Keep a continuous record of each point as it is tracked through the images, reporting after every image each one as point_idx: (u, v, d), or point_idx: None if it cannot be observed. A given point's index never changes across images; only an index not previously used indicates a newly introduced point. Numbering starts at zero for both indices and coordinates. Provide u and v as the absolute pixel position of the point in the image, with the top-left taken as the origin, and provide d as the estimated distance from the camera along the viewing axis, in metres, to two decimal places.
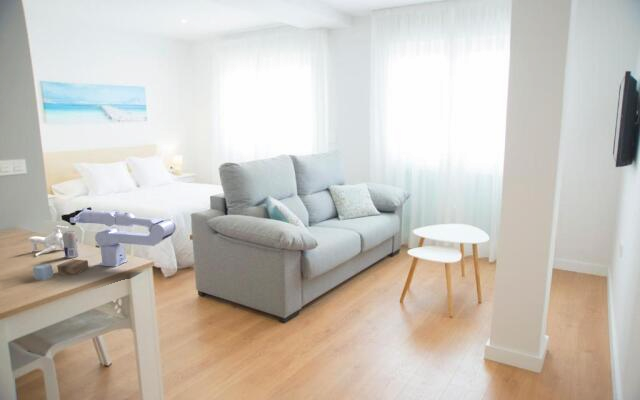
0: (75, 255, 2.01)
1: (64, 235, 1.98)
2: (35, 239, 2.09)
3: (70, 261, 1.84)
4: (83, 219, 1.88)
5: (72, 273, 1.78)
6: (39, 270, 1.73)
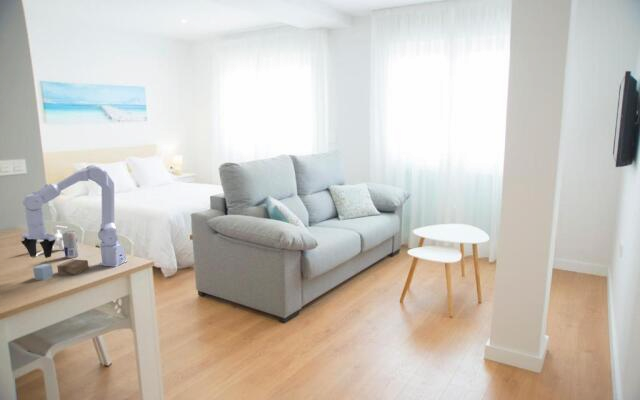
0: (75, 255, 2.01)
1: (64, 235, 1.98)
2: None
3: (70, 261, 1.84)
4: (44, 232, 1.72)
5: (72, 273, 1.78)
6: (39, 270, 1.73)
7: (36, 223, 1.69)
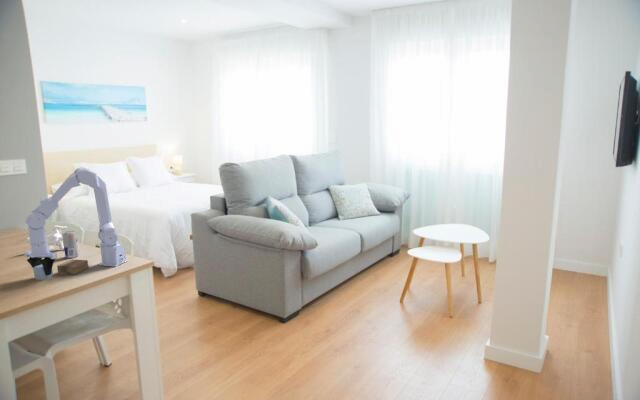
0: (75, 255, 2.01)
1: (64, 235, 1.98)
2: None
3: (70, 261, 1.84)
4: (46, 250, 1.74)
5: (73, 273, 1.78)
6: (39, 270, 1.73)
7: (39, 241, 1.71)
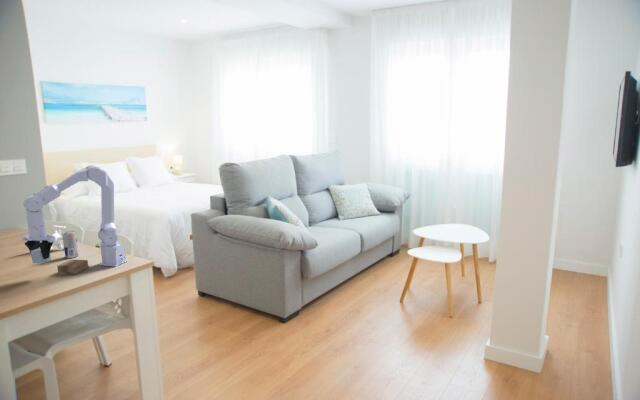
0: (75, 255, 2.01)
1: (64, 235, 1.98)
2: None
3: (69, 261, 1.84)
4: (44, 234, 1.73)
5: (73, 273, 1.78)
6: (37, 254, 1.72)
7: (37, 225, 1.70)
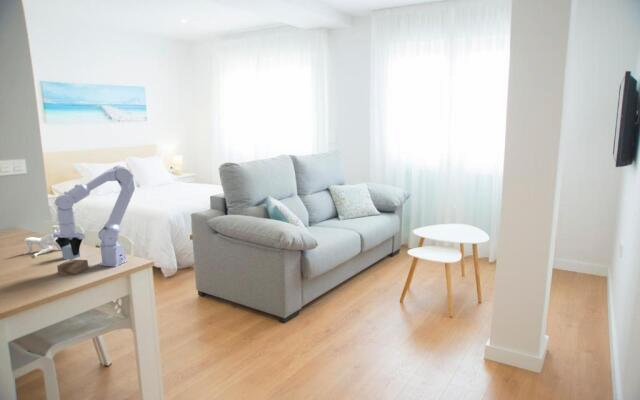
0: None
1: None
2: (31, 240, 2.07)
3: (69, 261, 1.84)
4: (74, 231, 1.80)
5: (74, 273, 1.79)
6: (67, 250, 1.79)
7: (67, 222, 1.77)
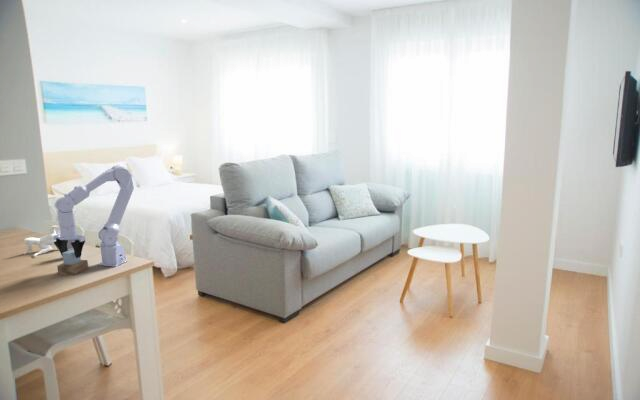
0: None
1: None
2: (31, 240, 2.07)
3: None
4: (74, 233, 1.80)
5: (74, 273, 1.79)
6: (68, 256, 1.79)
7: (68, 225, 1.77)
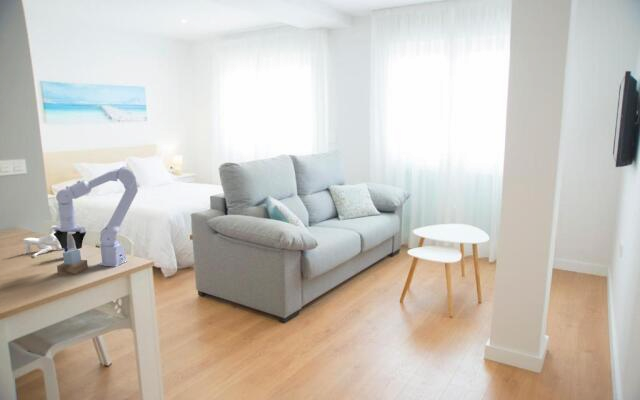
0: None
1: None
2: (30, 240, 2.07)
3: None
4: (75, 225, 1.82)
5: (74, 273, 1.79)
6: (68, 256, 1.79)
7: (66, 216, 1.79)
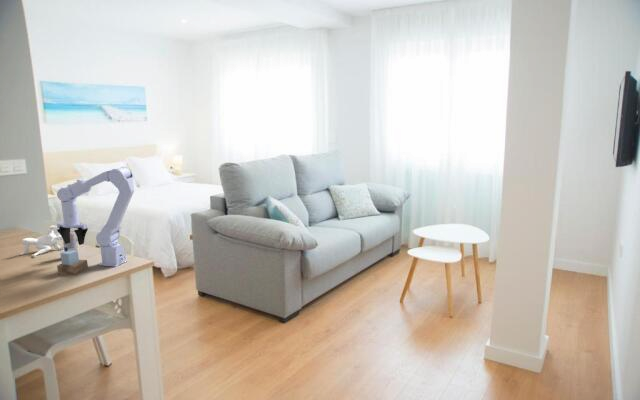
0: None
1: None
2: (29, 240, 2.07)
3: None
4: (77, 221, 1.88)
5: (74, 273, 1.79)
6: (66, 256, 1.79)
7: (66, 213, 1.85)
